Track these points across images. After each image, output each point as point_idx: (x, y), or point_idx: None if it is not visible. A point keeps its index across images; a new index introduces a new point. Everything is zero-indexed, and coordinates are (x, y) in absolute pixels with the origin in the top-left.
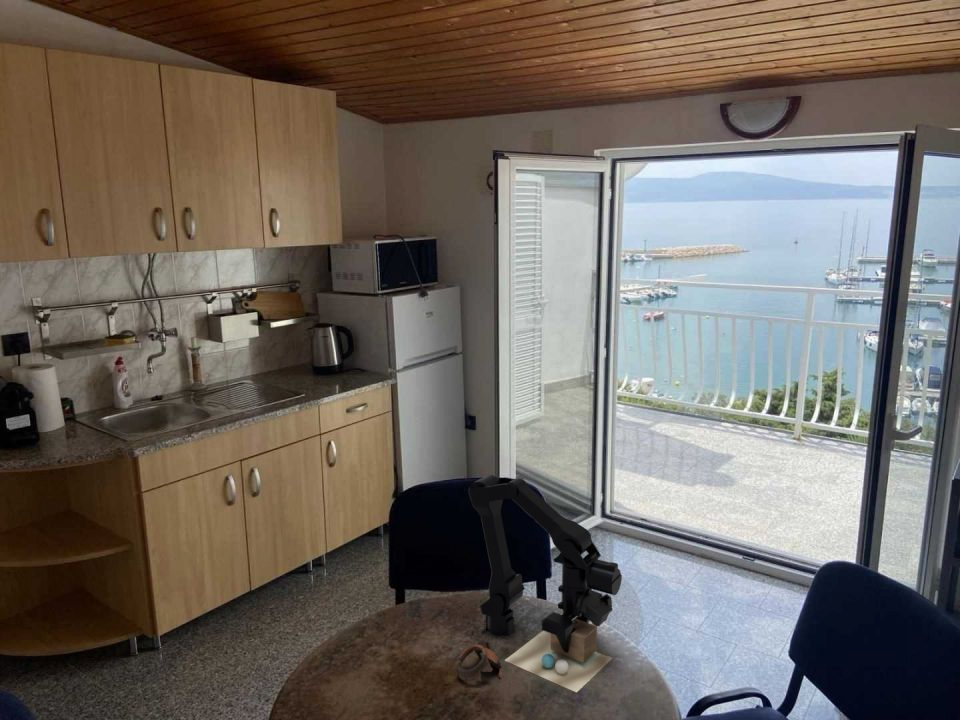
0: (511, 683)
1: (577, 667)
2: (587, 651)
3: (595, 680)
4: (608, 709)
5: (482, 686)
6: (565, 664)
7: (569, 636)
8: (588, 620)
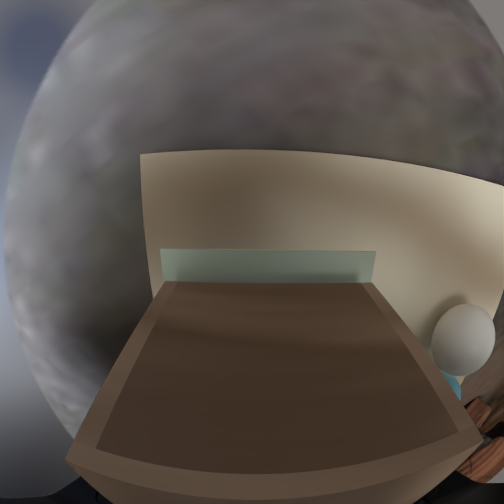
0: (481, 382)
1: (384, 289)
2: (325, 316)
3: (395, 152)
4: (497, 51)
5: (490, 403)
6: (489, 330)
7: (445, 484)
8: (84, 496)
